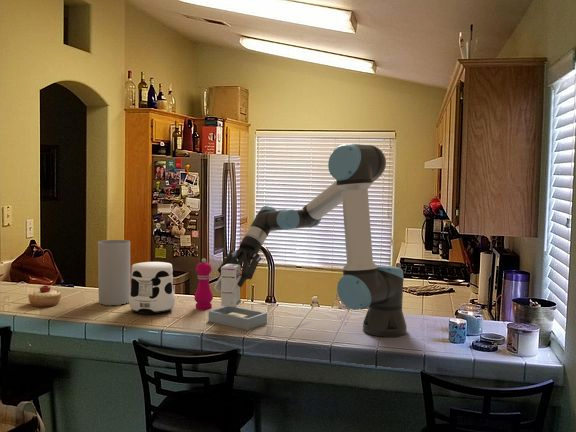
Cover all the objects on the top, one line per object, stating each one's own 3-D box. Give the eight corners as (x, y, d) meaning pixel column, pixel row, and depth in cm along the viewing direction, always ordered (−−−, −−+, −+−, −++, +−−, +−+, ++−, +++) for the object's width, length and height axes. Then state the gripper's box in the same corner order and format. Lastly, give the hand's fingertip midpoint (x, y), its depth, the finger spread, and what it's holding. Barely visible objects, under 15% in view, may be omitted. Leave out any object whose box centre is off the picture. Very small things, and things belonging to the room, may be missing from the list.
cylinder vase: (123, 297, 249) (122, 239, 246) (135, 303, 239) (135, 242, 237) (94, 301, 241) (93, 241, 238) (105, 307, 231) (105, 244, 229)
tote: (266, 325, 210) (267, 312, 210) (247, 332, 201) (248, 319, 201) (228, 316, 220) (228, 305, 220) (208, 323, 211) (208, 311, 211)
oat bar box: (247, 322, 211) (247, 315, 210) (240, 324, 207) (240, 317, 207) (232, 319, 215) (232, 312, 214) (225, 321, 211) (225, 314, 211)
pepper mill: (214, 309, 231) (215, 259, 229) (196, 311, 228) (196, 260, 226) (210, 305, 237) (210, 256, 235) (192, 306, 235) (192, 257, 233)
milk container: (165, 303, 239) (165, 260, 238) (181, 313, 225) (181, 266, 223) (123, 308, 230) (122, 263, 228) (137, 319, 216) (137, 270, 214)
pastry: (66, 302, 240) (66, 281, 240) (51, 309, 228) (52, 286, 228) (38, 300, 241) (38, 279, 241) (22, 307, 230) (22, 284, 229)
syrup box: (236, 307, 209) (236, 267, 207) (220, 306, 210) (220, 266, 209) (240, 303, 214) (241, 264, 213) (225, 302, 216) (225, 263, 214)
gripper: (278, 250, 217) (251, 301, 206) (236, 245, 229) (208, 293, 217) (270, 237, 213) (241, 289, 201) (228, 232, 224) (198, 281, 212)
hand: (224, 291), depth 209 cm, fingers closed on syrup box, 7 cm apart
